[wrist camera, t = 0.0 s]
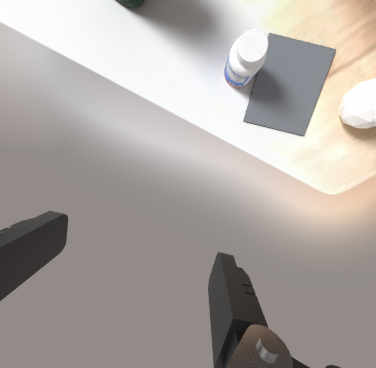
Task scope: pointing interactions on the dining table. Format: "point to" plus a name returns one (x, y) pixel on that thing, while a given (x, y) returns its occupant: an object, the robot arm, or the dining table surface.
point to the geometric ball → (360, 105)
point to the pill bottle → (246, 57)
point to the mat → (288, 84)
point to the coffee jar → (131, 3)
